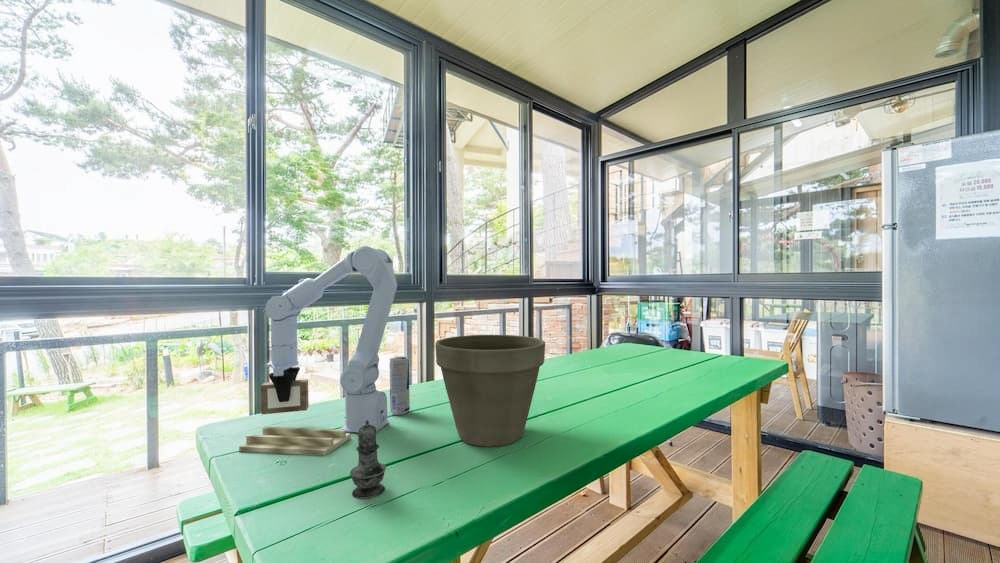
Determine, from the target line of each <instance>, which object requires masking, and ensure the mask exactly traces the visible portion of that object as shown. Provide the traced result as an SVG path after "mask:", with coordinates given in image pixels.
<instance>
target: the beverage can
mask: <svg viewBox="0 0 1000 563" xmlns="http://www.w3.org/2000/svg"><path fill="white" fill-rule="evenodd" d="M389 399H390V400H389V401H390V402H389V403H390V404H389V405H390V413H392V415H394V416H405V415H406V414H408V412H410V409H411V407H410V406H411V400H410V399H411V398H410V361H409V357H407V356H395V357H390V358H389Z"/></svg>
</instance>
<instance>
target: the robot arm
mask: <svg viewBox="0 0 1000 563" xmlns="http://www.w3.org/2000/svg"><path fill="white" fill-rule="evenodd" d="M350 274H361V275H362V276H363V277H365V278H366V279H367V281H368V283H369V284H370V285H371V287H372V288H373V291H372V295H371V298H370V301H369V305H368V307H367V311H366V315H365V319H364V322H363V325H362V329H361V333H360V335H359V339H358V343H357V346H356V349H355V352H354V353H353V355H352V357H350V359H349V360H348V365H347V366H346V368H345V369H344V370H343V371H342V373H341V375H340V379H339V382H340V385H341V386H340V387H341V388H342V389H343V390H344V396H345V397H344V401H345V402H344V404H345V407H344V408H345V413H344V414H345V425H343V426H342V427H340V428H339V429H337V430H346V433H358V432H359V429H360V428H361V427H362V426H364V425H366V423H365V422H366V421H367V420H368V421H369V424H370V425H373V426H374V427H375V428H376V433H377V432H378V431H380V430H382V428H384V426H386V425H388V424H389V422H390V421H389V420H388V397H387V394H386V392H384V391H380V390H378V389H377V386H376V382H377V381H378V378H379V376H380V369H379V361H380V357H379V355H378V354H379V351H380V347H381V343H382V341H383V337H384V333H385V329H386V326H387V323H388V319H389V316H390V312H391V308H392V306H393V302H394V299H395V296H396V292H397V289H398V282H397V279H396V275H395V270H394V261H393V260H392V258H391V257H390V256H389V254H388V253H387V252H386V251H385V250H383V249H380V248H374V247H370V246H367V245H363V246H360V247H358V248H356V249H355V251H351V252H349V253H347V254H346V255H345V256H344V257H343V258H341V259H340V260H339V261H337V262H336V263H334V265H332V266H331V267H329V268H328V269H327V270H325V271H324V272H322V273H321V274H320V275H318V276H317V277H316V278H309V277H307V278H301V279H299V280H298V281H297V283H298V284H296V285H294V286H293V287H291V288H289V289H286V290H284V291H282V295H274V296H271V297H270V299H269V300H268V301H267V302H266V304H265V309H264V310H265V314H266V315H267V317H268V318H269V319H270V339H271V340H270V342H271V345H270V346H271V350H270V351H271V362H268V363H266V365H265V366H266V368H271V369H272V370H273V372H271V373H269V375H268V378H269V379H270V382H273V384H274V386H275V389H276V393H277V397H278V400H279V402H287V401H289V399H290V393H291V385H292V381H294V380H297V376H298V373H299V371H300V369H301V368H300V367H299V366H298V365H299V360H298V328H297V327H298V325H297V324H298V317H299V315H300V314H301V312H302V310H304V309H305V308H307V307H309V306H310V305H312V304H313V303H315V302H316V301H317V300H319V299H322V297H323V294H324V291H325V289H327V288H328V287H331V286H332V285H334V284H335V283H337V282H339V281H341V280H342V279H344V278H345V277H347V276H349V275H350ZM296 366H297V367H296Z"/></svg>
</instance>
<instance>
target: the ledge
mask: <svg viewBox="0 0 1000 563" xmlns="http://www.w3.org/2000/svg"><path fill="white" fill-rule="evenodd" d="M245 439H246V440H245V441H246V442H245V443H244V444H241V445H239V446H238V450H239V452H243V453H244V452H245V453H246V452H247V453H249V452H250V453H266V454H267V453H269V454H284V455H285V454H287V455H288V454H289V455H307V456H308V455H309V456H327V455H328V454H330V453H331V452H332V451H335V449H337V448H339V447H340V446H341V445H342V444H344V443H345V442H347V441H349V440H350V439H351V432H346V430H338V429H336V428H335V429H329V428H328V429H327V428H308V427H307V428H306V427H305V428H303V427H302V428H301V427H280V426H278V427H277V426H275V427H274V426H264V427H263V428H262V434H247V435H246V436H245Z"/></svg>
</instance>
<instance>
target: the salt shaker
mask: <svg viewBox="0 0 1000 563" xmlns="http://www.w3.org/2000/svg"><path fill="white" fill-rule="evenodd" d="M365 423H366V425H364V426H362V427H361V428H360V429H359V432H357V434H358V446H357V447H356V451H357V452H358V455H357V456H358V462H357V466H354V467H353V468H352V469H351V470H350V471H349V475H350V477H351V480H352V482H353V484H354V486H356V487H355V488H354V489H353V490H352V492H351V495H352V497H353V498H354V499H356V500H358V499H359V500H368V499H373V498H377V497H378V496H380V495H382V494H383V493H384V492H385V489H386V487H385V486H384V485H383V484H382V483H381V482H382V481H383V479H384V477H385V472H386V470H387V466H386V465H385V464H384V463H381V462H379V460H378V448H380V446H379V443H377V432H376V428H375V427H374V426H373V425H370V424H369V421H368V420H367V421H366V422H365Z"/></svg>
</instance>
